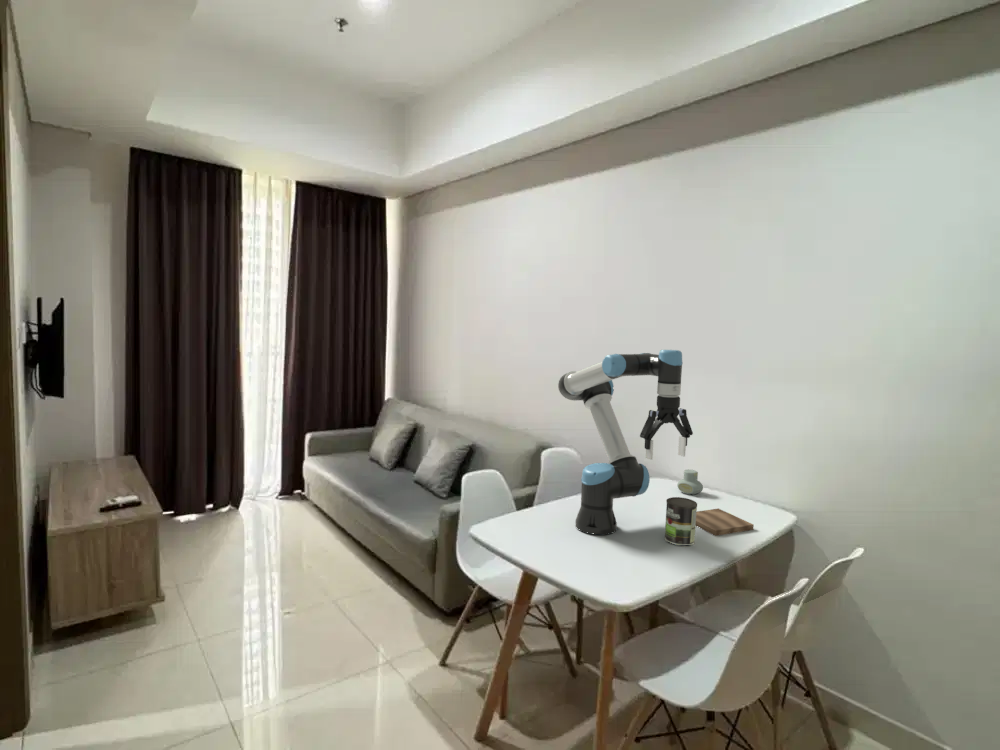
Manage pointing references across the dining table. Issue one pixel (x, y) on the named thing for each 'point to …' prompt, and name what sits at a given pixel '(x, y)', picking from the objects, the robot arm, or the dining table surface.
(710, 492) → the dining table surface
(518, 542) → the dining table surface
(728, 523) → the walnut board
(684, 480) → the air freshener
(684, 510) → the coffee can
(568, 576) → the dining table surface
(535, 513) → the dining table surface
